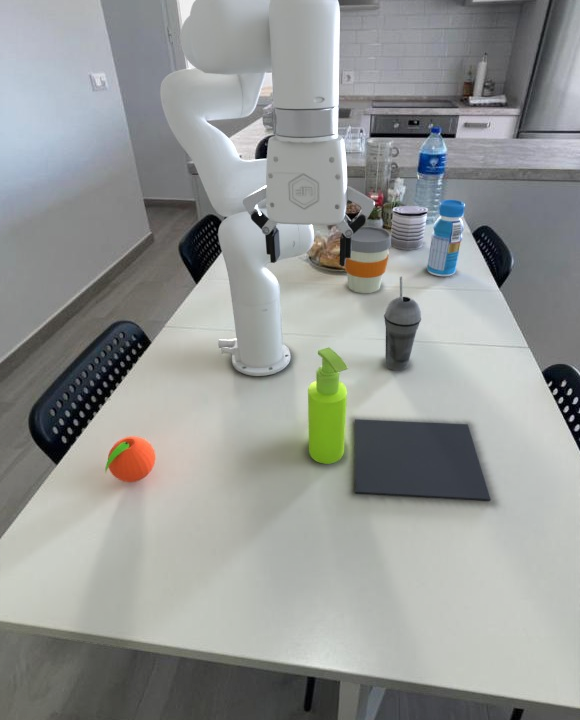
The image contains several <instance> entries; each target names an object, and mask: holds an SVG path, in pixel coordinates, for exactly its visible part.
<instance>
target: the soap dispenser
mask: <svg viewBox="0 0 580 720" xmlns="http://www.w3.org/2000/svg"><path fill="white" fill-rule="evenodd" d="M317 355H319V357H321V366H319V367H318V368H317V369H316V372H315V373H316V374H315V375H316V379H315V380H314V381H312V382H311V384H310V385H309V386H308V389H307V404H308V405H307V407H308V408H307V409H308V410H307V411H308V413H307V415H308V453H309V456H310V458H311V459H313V460H314V461H315V462H317V463H319V464H324V465H330V464H333V463H334V464H335V463H337V462H339V461H340V460H341V459H342V458H343V456H344V453H345V439H346V438H345V437H346V417H347V402H348V401H347V398H348V389H347V386H346V385H345V383H343V382H342V381H340V372H342V371H346V370H348V369H349V367H348V365H347V364H346V362H345V361H344V360H343V358H342V357H341V356H340V355H339V354H338V353H337V352H336V351H334V349H332V348H331V347H329V346H328V347H325V348H322V349H319V350H317Z"/></svg>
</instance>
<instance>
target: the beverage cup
mask: <svg viewBox="0 0 580 720" xmlns="http://www.w3.org/2000/svg"><path fill="white" fill-rule="evenodd" d="M403 286H404V285H403V276H399V296H397V297H396V298H394V299H392V300H391V301H390V302H389V303H388V304H387V307H386V309H385V311H384V315H383V318H384V319H383V320H384V327H385V366H386V367H387V368H388V369H390V370H393V371H403V370H405V369H407V368H408V364H409V361H410V358H411V354H412V350H413V346H414V342H415V338H416V334H417V330H418V329H419V326H420V324H421V322H422V312H421V308H420V306H419V304H418V302H416V300H414V299H413V298H411V297H409V296H404V295H403V292H404V291H403V288H404V287H403Z"/></svg>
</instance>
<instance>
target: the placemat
mask: <svg viewBox="0 0 580 720" xmlns="http://www.w3.org/2000/svg"><path fill="white" fill-rule="evenodd" d="M473 440H474V439H473V437H472V434H471V431H470V427H469V424H468V423H450V422H449V423H448V422H425V421H404V420H403V421H402V420H401V421H400V420H379V419H357V418H356V419H355V418H354V480H355V481H354V487H355V488H354V493H355V494H360V495H378V496H397V497H398V496H399V497H412V498H413V497H414V498H415V497H416V498H417V497H418V498H435V499H452V500H469V501H470V500H471V501H486V502H487V501H488V502H490V501H491V496H490V492H489V489H488V486H487V482H486V480H485V476H484V473H483V469H482V466H481V463H480V460H479V457H478V453H477V450H476V447H475V443H474V441H473Z"/></svg>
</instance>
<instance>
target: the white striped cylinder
mask: <svg viewBox="0 0 580 720" xmlns="http://www.w3.org/2000/svg"><path fill="white" fill-rule="evenodd" d="M428 211H429V208H427V207H424V206H418V205H401V206H400V205H399V206H395V207H393V208H392V220H391V231H390V234H391V246H390V247H393V248H395V249H398V250H405V251H412V250H418V249H420V248H422V247H423V246H424V238H425V233H426V232H425V231H426V225H427V218H428Z"/></svg>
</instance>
